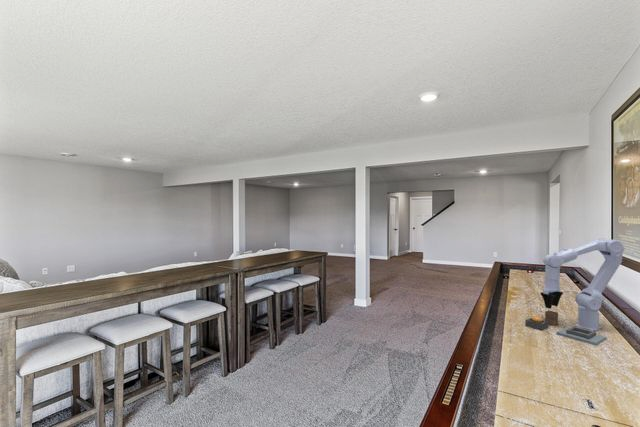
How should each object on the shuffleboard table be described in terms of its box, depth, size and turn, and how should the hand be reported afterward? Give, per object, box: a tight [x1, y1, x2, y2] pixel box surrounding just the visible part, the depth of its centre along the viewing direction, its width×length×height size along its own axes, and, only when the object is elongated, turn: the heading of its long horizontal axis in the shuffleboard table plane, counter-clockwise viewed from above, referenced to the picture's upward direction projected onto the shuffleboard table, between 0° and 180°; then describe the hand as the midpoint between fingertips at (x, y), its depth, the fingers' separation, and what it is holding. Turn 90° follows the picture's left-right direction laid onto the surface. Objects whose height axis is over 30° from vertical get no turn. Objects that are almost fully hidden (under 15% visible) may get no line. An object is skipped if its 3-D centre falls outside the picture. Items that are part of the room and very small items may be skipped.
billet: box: [544, 309, 559, 327], centre depth 156 cm, size 4×4×6 cm
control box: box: [524, 317, 549, 331], centre depth 152 cm, size 7×7×3 cm
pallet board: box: [555, 326, 607, 346], centre depth 140 cm, size 13×14×2 cm
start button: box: [531, 315, 543, 323], centre depth 152 cm, size 4×4×2 cm
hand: (551, 306), depth 156 cm, fingers open, 7 cm apart
